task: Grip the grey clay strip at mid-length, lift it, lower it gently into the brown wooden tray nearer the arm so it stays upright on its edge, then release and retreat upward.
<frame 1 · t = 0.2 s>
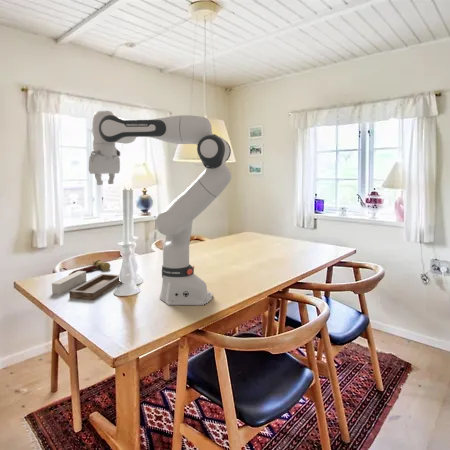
hand: (105, 184, 152), 48 cm above the table, tool pointing down, fingers open, 8 cm apart
gavel: (87, 272, 190), on the table
brown wooden tray: (98, 289, 163), on the table
clay strip: (70, 287, 165), on the table
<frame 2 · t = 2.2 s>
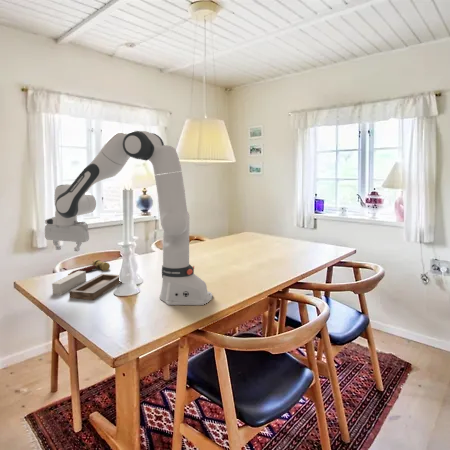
hand: (67, 250, 162), 17 cm above the table, tool pointing down, fingers open, 8 cm apart
nothing on the table moved.
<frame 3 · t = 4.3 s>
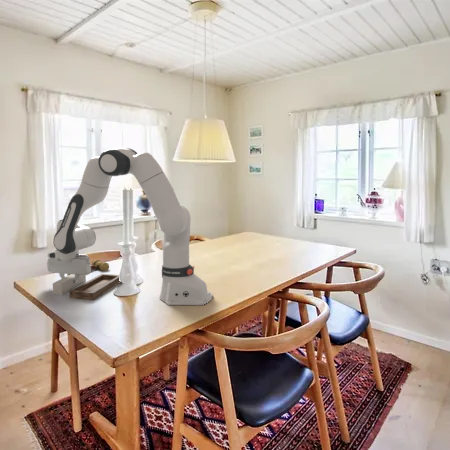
hand: (70, 282, 165), 2 cm above the table, tool pointing down, fingers closed on clay strip, 4 cm apart
clay strip: (70, 287, 165), on the table, touching gripper
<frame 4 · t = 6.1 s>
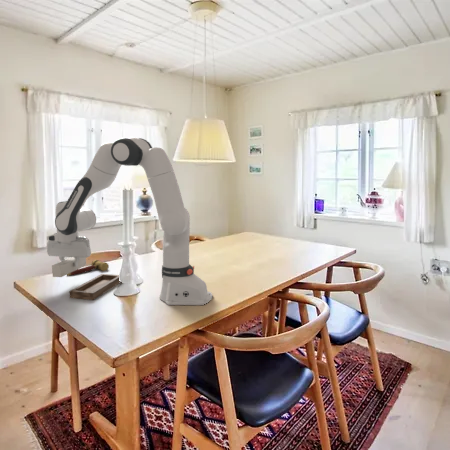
hand: (70, 266, 164), 10 cm above the table, tool pointing down, fingers closed on clay strip, 4 cm apart
clay strip: (70, 270, 164), point 8 cm above the table, touching gripper
everything else where it was.
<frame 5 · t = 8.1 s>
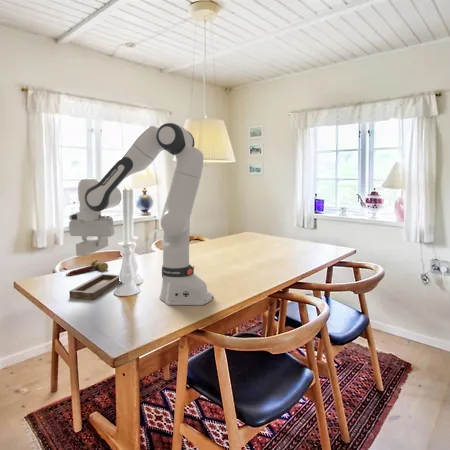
hand: (93, 246, 160), 20 cm above the table, tool pointing down, fingers closed on clay strip, 4 cm apart
clay strip: (93, 250, 160), point 18 cm above the table, touching gripper
when the fingers open (4 cm above the table, at t = 10.9 s): clay strip drops 1 cm, resting on brown wooden tray.
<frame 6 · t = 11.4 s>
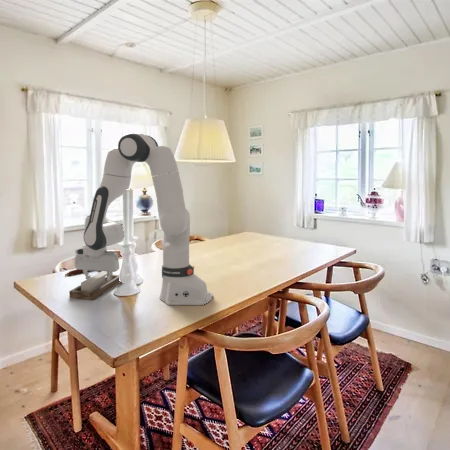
hand: (97, 279, 162), 4 cm above the table, tool pointing down, fingers open, 8 cm apart
clay strip: (98, 286, 162), point 1 cm above the table, touching brown wooden tray
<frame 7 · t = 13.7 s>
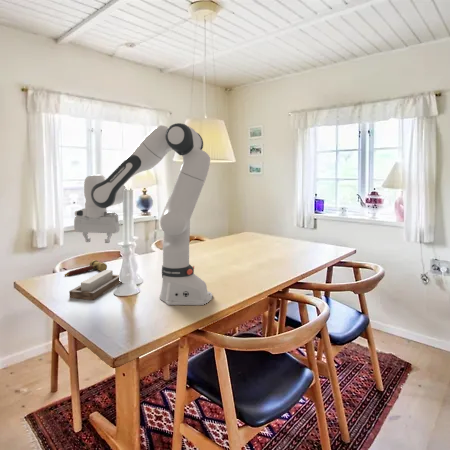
hand: (97, 242, 160), 22 cm above the table, tool pointing down, fingers open, 8 cm apart
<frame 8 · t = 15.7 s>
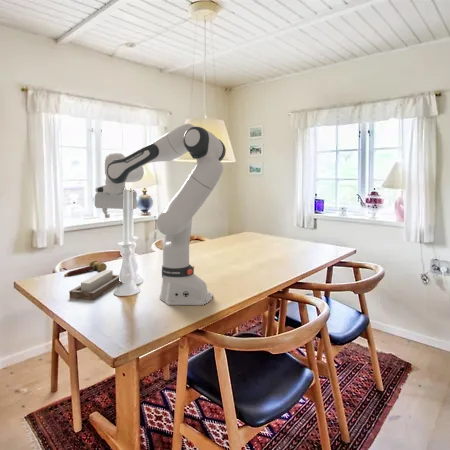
hand: (116, 218, 169), 31 cm above the table, tool pointing down, fingers open, 8 cm apart
at the end: clay strip 0.0 cm off-centre on the brown wooden tray, point 1.0 cm above the brown wooden tray's base; clay strip tilted 0°; the gripper is holding nothing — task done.
